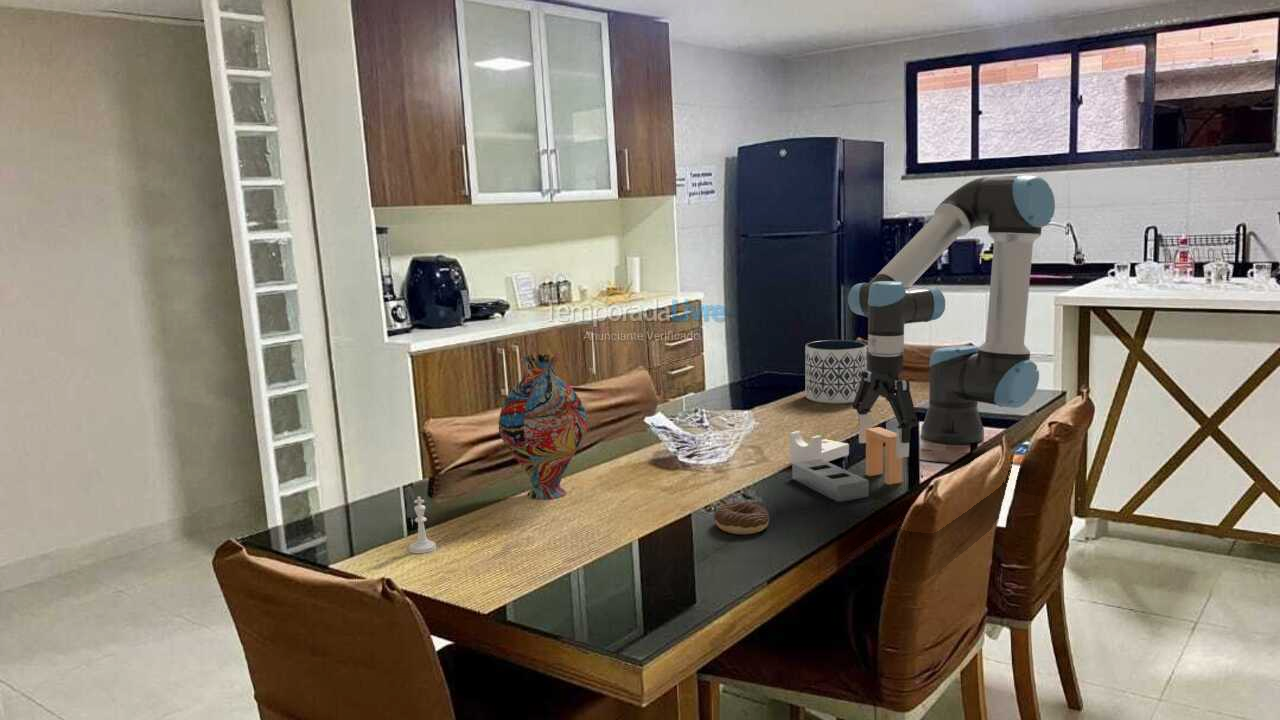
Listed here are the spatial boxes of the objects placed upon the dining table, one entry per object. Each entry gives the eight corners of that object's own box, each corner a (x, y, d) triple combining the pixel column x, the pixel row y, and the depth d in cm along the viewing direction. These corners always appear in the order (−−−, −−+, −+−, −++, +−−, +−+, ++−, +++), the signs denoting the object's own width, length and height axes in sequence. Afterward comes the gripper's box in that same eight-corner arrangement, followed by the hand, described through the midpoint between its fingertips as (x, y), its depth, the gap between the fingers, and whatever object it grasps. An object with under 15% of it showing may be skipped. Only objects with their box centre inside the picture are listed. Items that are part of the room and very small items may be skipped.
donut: (712, 518, 189) (712, 499, 188) (766, 517, 188) (766, 498, 188) (715, 538, 178) (715, 517, 178) (772, 537, 178) (772, 516, 177)
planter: (872, 403, 282) (873, 348, 279) (810, 405, 282) (810, 350, 279) (859, 390, 300) (859, 339, 297) (801, 392, 300) (801, 340, 297)
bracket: (814, 470, 219) (814, 438, 218) (790, 464, 224) (790, 433, 223) (848, 458, 228) (848, 427, 226) (824, 453, 233) (824, 422, 231)
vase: (603, 484, 213) (597, 351, 208) (569, 511, 195) (562, 367, 190) (526, 478, 219) (519, 349, 214) (487, 504, 201) (478, 364, 196)
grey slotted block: (821, 474, 215) (821, 459, 214) (868, 496, 198) (868, 480, 198) (792, 478, 212) (792, 463, 212) (837, 502, 196) (837, 485, 195)
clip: (878, 472, 215) (879, 427, 213) (902, 482, 207) (902, 435, 205) (865, 474, 214) (866, 428, 212) (888, 484, 206) (889, 437, 204)
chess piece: (411, 544, 180) (407, 493, 178) (437, 543, 180) (434, 492, 178) (407, 554, 175) (403, 501, 173) (434, 552, 175) (430, 500, 173)
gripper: (837, 347, 216) (836, 438, 219) (907, 363, 193) (904, 465, 196) (866, 344, 218) (864, 434, 222) (937, 360, 195) (934, 461, 199)
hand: (883, 449), depth 209 cm, fingers open, 13 cm apart
